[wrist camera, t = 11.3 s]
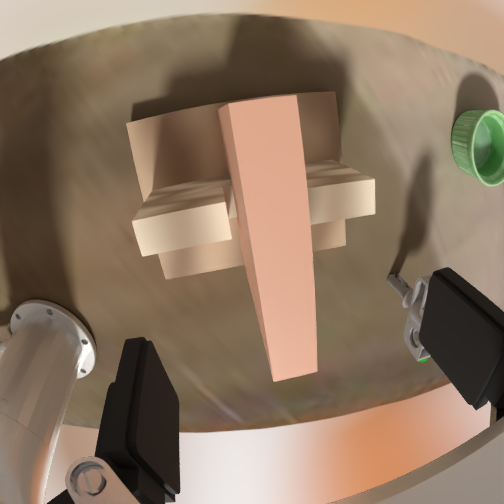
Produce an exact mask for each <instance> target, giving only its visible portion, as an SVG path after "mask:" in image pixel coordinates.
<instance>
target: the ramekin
mask: <svg viewBox="0 0 504 504" xmlns="http://www.w3.org/2000/svg"><path fill="white" fill-rule="evenodd" d="M451 145H452V152H453V156H454V159H455V161H456V163H457V165H458V166H459V167H460V169H462V170H463V171H464V172H466V173H467V174H469V175H471V176H473V177H475V178H477V179H478V180H479V181H480V182H482V183H483V184H485V185H487V186H497V185H499V184H501V183H502V182H503V181H504V114H503V113H501V112H500V111H498V110H494V109H489V110H468V111H466V112H464V113H462V114H461V115H460V116H459V117H458V119H457V120H456V122H455V124H454V127H453V131H452V137H451Z"/></svg>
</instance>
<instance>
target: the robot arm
mask: <svg viewBox="0 0 504 504" xmlns="http://www.w3.org/2000/svg"><path fill="white" fill-rule="evenodd" d="M11 332H12V335H11V337H10V338H9V339H6V340H5V342H0V504H44V501H45V493H46V486H47V481H48V475H49V471H50V467H51V462H52V458H53V455H54V451H55V447H56V443H57V440H58V436H59V432H60V429H61V426H62V422H63V419H64V416H65V412H66V409H67V406H68V403H69V400H70V397H71V394H72V391H73V388H74V385H75V382H76V379H77V378H81V377H84V376H86V375H87V374H89V373H90V372H91V370H92V369H93V367H94V364H95V361H96V357H97V351H96V346H95V342H94V340H93V338H92V336H91V334H90V333H89V331H88V330H87V328H86V327H85V326H84V325H83V324H82V322H81V321H80V320H79V319H78V318H76V317H75V316H74V315H73V314H72V313H70V312H69V311H67V310H66V309H64V308H63V307H61V306H59V305H57V304H55V303H52V302H49V301H45V300H39V299H36V300H28V301H25V302H23V303H22V304H20V305H19V306H18V307H17V309H16V310H15V311H14V313H13V315H12V318H11ZM419 341H420V343H421V345H422V346H423V347H424V348H425V350H426V351H427V352H428V353H429V354H430V356H431V357H432V358H433V359H434V361H435V362H436V363H437V364H438V366H439V367H440V368H441V369H442V371H443V372H444V373H445V375H446V376H447V377H448V378H449V380H450V381H451V382H452V384H453V385H454V386H455V387H456V389H457V390H458V391H459V393H460V394H461V395H462V397H463V398H464V399H465V401H466V402H467V403H468V404H469V405H472V406H473V407H474V408H475V410H477V409H479V408H481V407H482V406H484V405H485V404H487V402H488V400H489V401H490V403H491V416H490V427H489V428H487V429H485V430H484V431H482V432H481V433H479V434H478V435H476V436H475V437H473V438H471V439H470V440H468V441H467V442H465V443H464V444H462V445H460V446H459V447H457V448H455V449H453V450H452V451H450V452H448V453H446V454H445V455H443V456H441V457H439V458H437V459H435V460H433V461H432V462H430V463H428V464H426V465H424V466H422V467H420V468H418V469H416V470H414V471H412V472H409V473H407V474H405V475H403V476H401V477H398V478H396V479H394V480H392V481H389V482H387V483H384V484H382V485H380V486H377V487H375V488H372V489H369V490H367V491H364V492H361V493H358V494H356V495H353V496H350V497H347V498H344V499H341V500H338V501H335V502H331V503H328V504H504V312H503V311H502V310H501V309H500V308H499V307H497V306H496V305H495V304H494V303H493V302H492V301H490V300H489V299H488V298H487V297H486V296H484V295H483V294H482V293H481V292H480V291H478V290H477V289H476V288H475V287H473V286H472V285H471V284H470V283H469V282H467V281H466V280H465V279H463V278H462V277H461V276H460V275H458V274H457V273H456V272H455V271H453V270H452V269H451V268H449V267H446V268H443V269H440V270H436V271H434V272H433V274H432V277H430V280H429V285H428V291H427V297H426V302H425V308H424V313H423V318H422V322H421V327H420V331H419ZM179 465H180V463H179V400H178V396H177V394H176V392H175V390H174V388H173V386H172V384H171V382H170V380H169V378H168V376H167V373H166V371H165V369H164V367H163V365H162V363H161V360H160V358H159V356H158V354H157V352H156V349H155V347H154V345H153V343H152V341H146V339H145V338H144V337H139V338H132V339H127V340H126V341H125V343H124V347H123V351H122V355H121V359H120V363H119V367H118V372H117V376H116V380H115V382H113V383H111V384H110V385H109V388H108V392H107V396H106V400H105V405H104V410H103V414H102V419H101V424H100V429H99V434H98V440H97V445H96V451H95V457H84V458H81V459H79V460H77V461H76V462H74V463H73V464H72V465H71V466H70V468H69V469H68V471H67V474H66V478H65V481H66V487H67V489H66V490H65V491H63V492H62V493H61V494H59V495H58V496H56V497H55V498H54V499H52V500H51V501H49V502H48V503H47V504H165V502H175V494H179V493H180V467H179Z"/></svg>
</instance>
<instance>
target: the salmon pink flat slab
mask: <svg viewBox="0 0 504 504" xmlns="http://www.w3.org/2000/svg"><path fill="white" fill-rule="evenodd" d="M218 116H219V122H220V128H221V134H222V140H223V146H224V151H225V157H226V163H227V168H228V171H229V174H230V177H231V182H232V188H233V194H234V200H235V206H236V211H237V217H236V220H237V226H238V231H239V237H240V243H241V248H242V254H243V259H244V264H245V268H246V272H247V276H248V280H249V284H250V289H251V293H252V297H253V301H254V305H255V309H256V313H257V317H258V321H259V325H260V329H261V333H262V337H263V341H264V345H265V349H266V353H267V357H268V361H269V365H270V369H271V373H272V377H273V381H274V382H275V381H279V380H284V379H288V378H293V377H297V376H301V375H305V374H310V373H314V372H317V339H316V309H315V287H314V269H313V253H312V238H311V225H310V213H309V201H308V190H307V180H306V170H305V161H304V152H303V143H302V135H301V126H300V119H299V111H298V104H297V96H296V95H291V96H281V97H272V98H263V99H255V100H248V101H241V102H234V103H228V104H226V105H225V106H223V107H221V108H220V109H218Z"/></svg>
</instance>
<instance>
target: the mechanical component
mask: <svg viewBox="0 0 504 504" xmlns="http://www.w3.org/2000/svg"><path fill="white" fill-rule="evenodd" d="M430 277H432V275H430V276H426V277H422V278H418V279H417V280H416V282H415V285H414V289H412V288H411V287H410V286H409V285H408V284H407V283H406V282H405V281H404V280H403V279H402V278H401V277H400V276H399V275H398V274H397V275H396V278H395V274H391V275H389V276H388V278H387V282H388V283H389V284H390V285H391V286H392V288H393V289H394V290H395V291H396V292H397V293H398V294H399V295H400V296H401V297H402V299H403V301H402V304H403V307H404V308H406V309H408V310H409V313H408V317H407V321H406V325H405V329H404V340H405V343H406V345H407V346H408V348H409V349H410V352H411V353H412V354H413V356H414V357H415V359H416V360H417V361H419V362H425V361H426V360H427V358H428V357H431V356H430V354H429V353H428V352H427V351H426V350H425V348H424V347H423V346H422V345H421V343H420V341H419V331H420V327H421V322H422V318H423V313H424V308H425V302H426V297H427V291H428V285H429V280H430Z"/></svg>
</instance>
